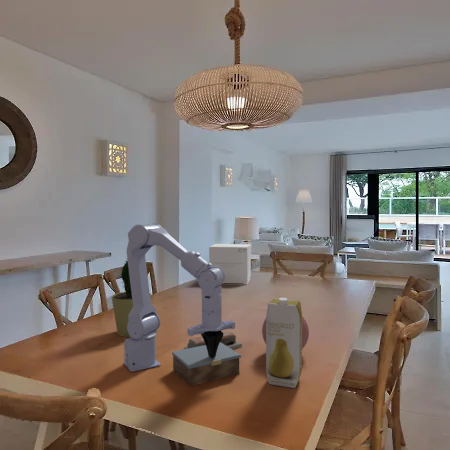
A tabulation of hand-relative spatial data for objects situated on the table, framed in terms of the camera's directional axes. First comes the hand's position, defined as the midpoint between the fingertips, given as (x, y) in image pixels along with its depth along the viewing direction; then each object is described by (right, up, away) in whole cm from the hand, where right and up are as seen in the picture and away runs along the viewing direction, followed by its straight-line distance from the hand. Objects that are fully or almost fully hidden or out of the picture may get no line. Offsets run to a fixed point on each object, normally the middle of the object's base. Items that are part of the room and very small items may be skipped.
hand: (211, 356), depth 114 cm
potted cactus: (-33, -5, +42) cm, 54 cm away
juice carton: (+20, -6, -3) cm, 22 cm away
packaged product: (0, -6, +24) cm, 25 cm away
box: (-2, -6, +4) cm, 7 cm away
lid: (-2, -1, +3) cm, 4 cm away
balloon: (+23, -6, +16) cm, 29 cm away
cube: (+8, -1, +153) cm, 153 cm away
